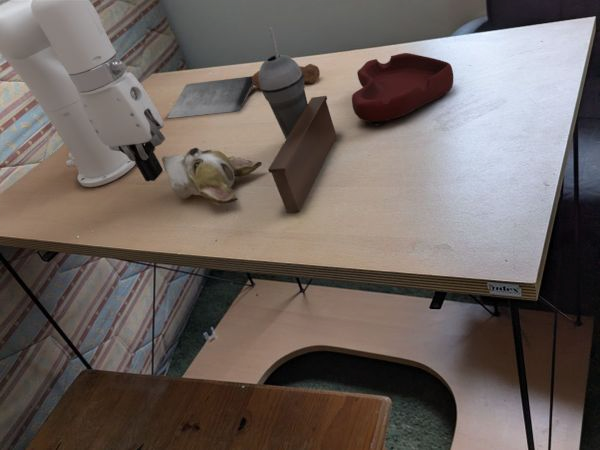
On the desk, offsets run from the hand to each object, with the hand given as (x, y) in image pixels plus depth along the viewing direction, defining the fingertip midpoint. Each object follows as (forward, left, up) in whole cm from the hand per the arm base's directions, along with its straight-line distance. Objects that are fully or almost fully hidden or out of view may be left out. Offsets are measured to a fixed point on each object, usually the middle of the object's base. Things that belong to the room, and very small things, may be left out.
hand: (154, 176), depth 92 cm
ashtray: (+37, +24, -4) cm, 45 cm away
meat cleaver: (0, +34, -4) cm, 34 cm away
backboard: (+26, +4, -4) cm, 27 cm away
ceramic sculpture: (+10, 0, -4) cm, 11 cm away
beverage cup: (+21, +13, -4) cm, 25 cm away
